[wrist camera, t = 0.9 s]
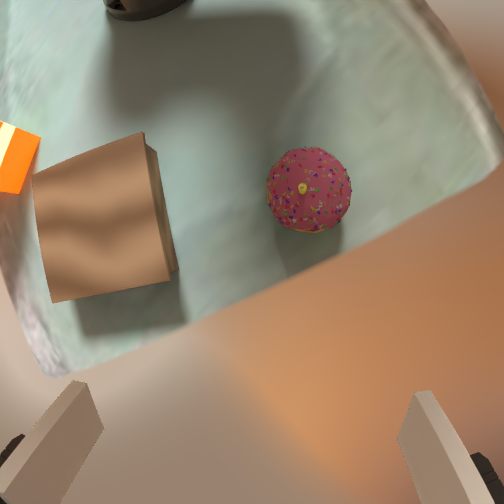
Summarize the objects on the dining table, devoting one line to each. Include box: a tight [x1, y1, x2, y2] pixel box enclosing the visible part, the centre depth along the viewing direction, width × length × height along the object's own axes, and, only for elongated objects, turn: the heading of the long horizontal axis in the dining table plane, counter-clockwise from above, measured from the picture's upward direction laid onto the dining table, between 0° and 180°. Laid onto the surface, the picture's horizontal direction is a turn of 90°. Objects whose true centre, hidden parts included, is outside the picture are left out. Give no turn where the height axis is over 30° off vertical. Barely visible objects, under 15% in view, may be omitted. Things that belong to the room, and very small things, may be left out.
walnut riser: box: [32, 132, 179, 303], centre depth 32 cm, size 15×15×6 cm
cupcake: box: [266, 147, 352, 233], centre depth 28 cm, size 9×8×12 cm
